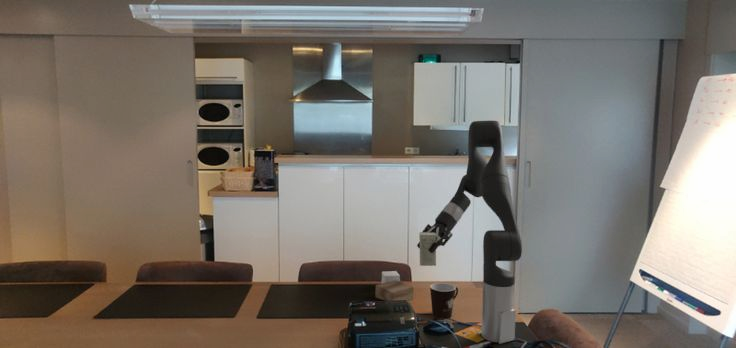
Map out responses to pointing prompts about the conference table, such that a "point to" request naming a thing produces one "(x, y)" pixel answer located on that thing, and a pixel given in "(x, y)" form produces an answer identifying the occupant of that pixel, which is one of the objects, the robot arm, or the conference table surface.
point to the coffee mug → (442, 299)
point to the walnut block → (394, 291)
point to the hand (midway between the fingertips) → (424, 249)
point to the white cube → (390, 276)
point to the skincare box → (425, 244)
